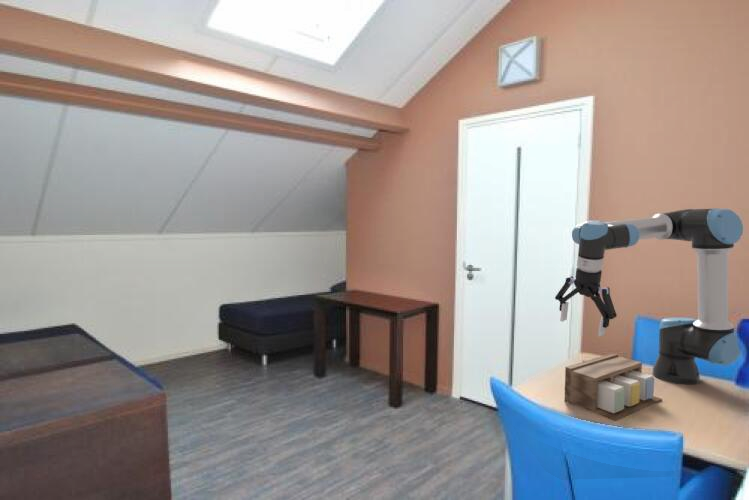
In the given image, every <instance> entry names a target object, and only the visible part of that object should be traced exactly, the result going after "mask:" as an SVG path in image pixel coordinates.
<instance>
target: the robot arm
mask: <svg viewBox="0 0 749 500" xmlns="http://www.w3.org/2000/svg"><path fill="white" fill-rule="evenodd" d="M743 225H744V224H743V222H742V219H741V217H740V216H739V215H738V214H737V213H736V212H735V211H733V210H732V209H727V208H686V209H681V210H675V211H669V212H663V213H657V214H654V215H653V216H652V217H644V218H636V219H635V218H634V219H622V220H616V221H615V220H614V221H605V222H604V221H602V220H591V219H590V220H586V221H584V222H582V223H579V224H577V225H575V226H574V227H573V229H572V230H571V237H572V240H573V242H574V243H575V244H577V245H578V250H577V251H578V253H577V260H576V269H575V277H574V276H572V275H569V276H568V277H566V278H565V281H564V284H563V285H562V287H561V288H560V289H559V291H558V292H557V293H556V295H555V297H554V299H555V300H557V301H558V302H559V308H558V309H559V312H560V322H565V321H566V320H567V319H568V313H569V311H568V310H569V302H568V300H569V299H571V298H572V297H574V296H575V295H577V294H579V295H580V296H585V297H587V298H590V299H591V300H592V301H593V302H594V304H595V305H596V308H597V309H598V311H599V313H600V314H601V317H600V320H599V326H598V333H597V337H599V338H600V337H602V336H605V334H606V328H608V327H609V325H610V320H613V319H615V318H617V312H616V310H615V306H614V303H613V300H612V297H611V290H610V289H611V288H610V287H609V286H607V287H601V281H602V280H601V279H602V273H603V272H602V269H603V268H604V267H603V264H604V258H605V253H606V251H609V250H614V249H623V248H628V247H633V246H635V245H636V244H638V242H639V240H647V239H656V240H660V241H661V240H662V241H663V240H674V241H675V240H676V241H683V242H691V249H693V251H695V253H696V254H697V256H696V257H697V259H696V263H697V265H696V266H697V268H696V269H697V319H696V318H691V317H690V318H689V317H665V318H662V319H661V320H660V322H659V323H660V324H659V330H658V331H659V333H658V334H659V335H658V336H659V339H658V341H659V342H658V356H657V358H656V361H655V363H654V365H653V367H652V376H653V377H654V378H657V379H660V380H662V381H665V382H668V383H673V384H682V385H695V384H698V383H700V382H701V381H700V378H701V377H700V376H701V375H700V372H699V369H698V366H697V363H696V358H697V359H700V360H703V361H707V362H709V363H710V364H716V365H721V366H728V365H731V364H733V363H735V362H736V361H737V360H738V358H739V357H740V356H741V354H742V352H741V351H740V349H739V346H738V338H737V335H738V334H737V333H735V326H734V324H733V323H732V322H730V321H729V253H730V251H732V250H733V249H734V247H735V245H734V244H736V243H738V242H739V241H740V240H741V236H743V233H744V226H743ZM572 285H574V287H575V288H573V289H572V290H571V291H570V292H569V293H568V294H566V293H567V291H568V290H569V288H570V287H571V286H572ZM565 294H566V295H565Z"/></svg>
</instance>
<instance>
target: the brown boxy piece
mask: <svg viewBox="0 0 749 500" xmlns="http://www.w3.org/2000/svg"><path fill="white" fill-rule="evenodd" d="M642 365H643V362H642V361H638V360H634V359H630V358H626V357H623V356H619V354H617V353H614V352H613V353H609V354H605V355H602V356H599V357H595V358H592V359H588V361H584V362H583V361H581V362H578V363H575V364H571V365H568V366H565V369H564V371H565V373H564V374H565V375H564V402H565V403H568V404H571V405H573V406H576V407H578V408H581V409H583V410H587V411H589V412H591V413H594V414H596V415H598V416H602V417H605V418H607V419H609V420H612V421H615V422H616V421H618V420H621V419H623V418H626V417H627V416H630V415H632V414H634V413H635V414H636V413H638V412H639V411H641V410H643V409H646V408H648V407H650V406H652V405H655V404H657V403H659V402H662V401H663V399H662V398H660V397H657V396H655V395H654V396H653V397H651V398H649V399H647V400H641V399H639V403H637V404H635V405H633V406H630V407H629V406H626V405H624V409H623V410H621V411H618V412H616V413H611V412H609V411H606V410H603V409H601V408H598V407H597V386H598V381H601V380H604V381H607V382H610V383H613V376H615V375H620V376H624V377H627V378H628V371H630V370H635V371H638V372H642V371H643V369H642V368H643V366H642ZM642 373H643V372H642Z"/></svg>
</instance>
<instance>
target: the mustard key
mask: <svg viewBox="0 0 749 500" xmlns="http://www.w3.org/2000/svg"><path fill="white" fill-rule="evenodd" d="M613 383H614V384H617V385H620V386H623V387H624V389H625V399H624V405H626V406H629V407H630V406H633V405H635V404H637V403H639V397H640V383H639V381H637V380H634V379H630V378H627V377H624V376H620V375H615V376H613Z"/></svg>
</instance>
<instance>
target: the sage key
mask: <svg viewBox="0 0 749 500" xmlns="http://www.w3.org/2000/svg"><path fill="white" fill-rule="evenodd" d="M624 399H625V389H624V387H623V386H620V385H617V384H614V383H610V382H607V381H604V380H601V381H598V386H597V407H598V408H601V409H603V410H606V411H609V412H611V413H616V412H618V411H621V410H623V409H624Z"/></svg>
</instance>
